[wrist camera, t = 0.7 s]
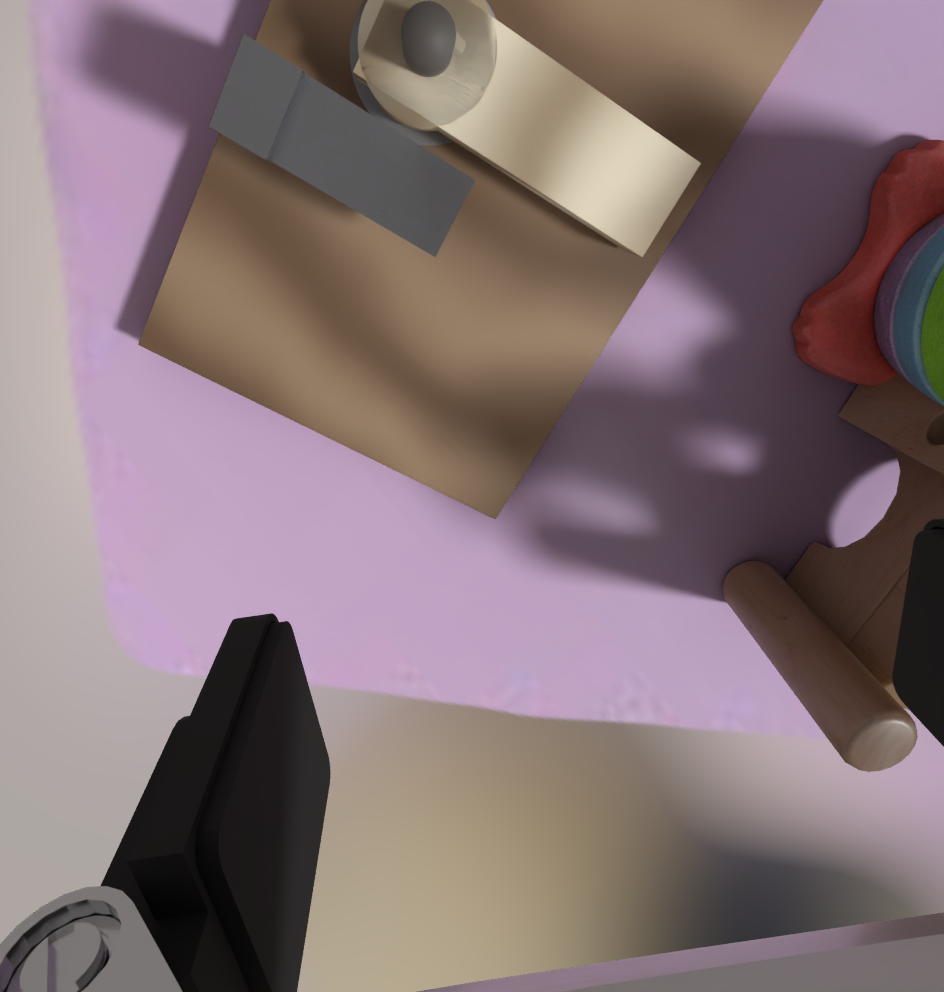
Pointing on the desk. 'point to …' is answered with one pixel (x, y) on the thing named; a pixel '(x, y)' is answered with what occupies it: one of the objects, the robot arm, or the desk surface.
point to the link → (521, 114)
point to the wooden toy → (854, 591)
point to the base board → (450, 248)
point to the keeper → (338, 147)
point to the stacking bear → (888, 286)
